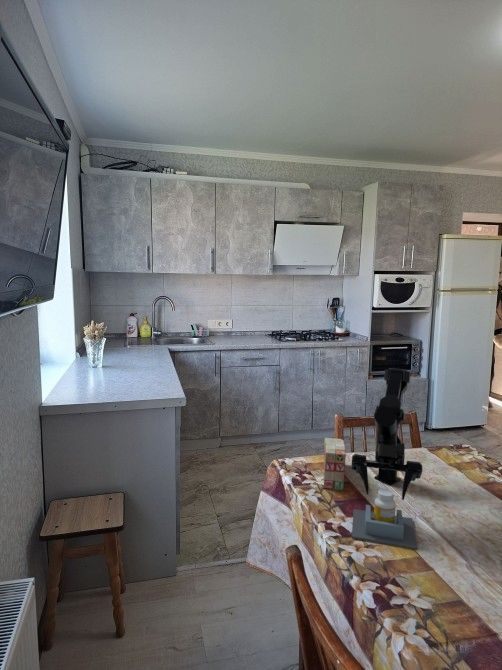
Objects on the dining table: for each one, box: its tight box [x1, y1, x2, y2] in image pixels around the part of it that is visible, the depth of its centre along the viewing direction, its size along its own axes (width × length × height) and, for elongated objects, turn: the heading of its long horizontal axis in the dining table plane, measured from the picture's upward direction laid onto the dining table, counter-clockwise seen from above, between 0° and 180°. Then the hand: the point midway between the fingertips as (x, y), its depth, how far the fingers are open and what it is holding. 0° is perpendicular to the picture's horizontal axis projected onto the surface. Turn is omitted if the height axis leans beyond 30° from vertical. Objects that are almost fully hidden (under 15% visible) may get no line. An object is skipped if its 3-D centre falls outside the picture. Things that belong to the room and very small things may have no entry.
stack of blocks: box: [323, 437, 347, 491], centre depth 149 cm, size 21×6×12 cm, turn 171°
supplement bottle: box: [373, 488, 397, 523], centre depth 117 cm, size 5×5×10 cm
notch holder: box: [351, 504, 418, 551], centre depth 117 cm, size 14×16×4 cm
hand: (385, 496), depth 118 cm, fingers open, 9 cm apart
